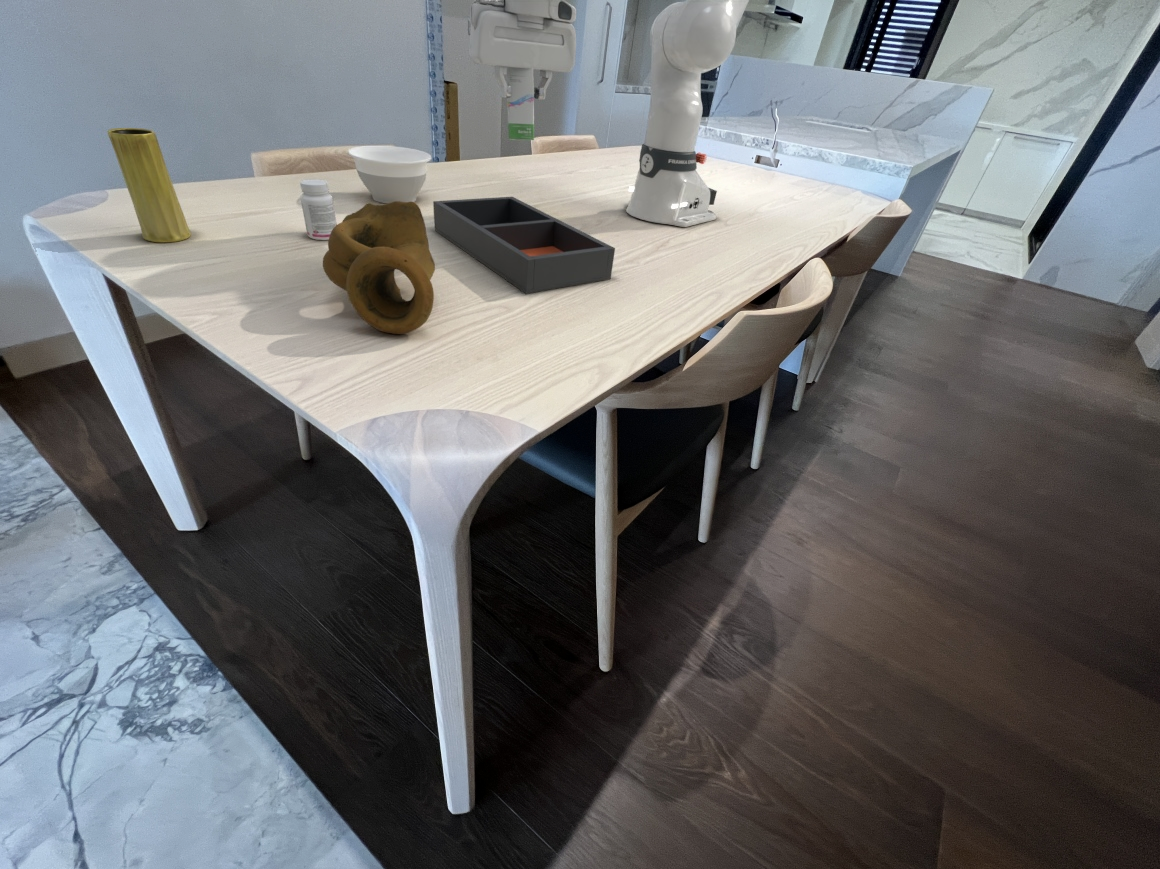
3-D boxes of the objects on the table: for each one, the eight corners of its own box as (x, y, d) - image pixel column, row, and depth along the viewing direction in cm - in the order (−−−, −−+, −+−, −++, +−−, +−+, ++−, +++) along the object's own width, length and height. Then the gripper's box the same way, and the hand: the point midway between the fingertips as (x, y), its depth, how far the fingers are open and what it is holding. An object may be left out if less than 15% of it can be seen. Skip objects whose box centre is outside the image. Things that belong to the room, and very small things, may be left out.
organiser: (511, 223, 106) (512, 196, 103) (610, 279, 87) (615, 248, 84) (434, 230, 98) (432, 201, 95) (526, 294, 79) (527, 259, 75)
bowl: (423, 212, 106) (420, 165, 101) (342, 203, 105) (334, 155, 100) (441, 194, 118) (439, 151, 113) (368, 185, 118) (363, 142, 112)
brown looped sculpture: (480, 225, 78) (449, 247, 59) (452, 306, 84) (416, 350, 64) (355, 168, 74) (278, 171, 55) (334, 256, 80) (258, 287, 60)
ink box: (509, 139, 107) (506, 68, 101) (535, 139, 108) (533, 69, 102) (508, 140, 100) (504, 63, 94) (535, 140, 100) (533, 64, 94)
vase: (197, 239, 82) (164, 134, 73) (150, 245, 78) (109, 135, 69) (183, 228, 85) (150, 126, 76) (137, 233, 81) (97, 127, 73)
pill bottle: (345, 236, 90) (336, 182, 85) (323, 242, 86) (313, 187, 81) (323, 229, 91) (314, 176, 86) (301, 236, 88) (290, 181, 83)
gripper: (479, -6, 83) (480, 98, 91) (584, 11, 93) (576, 103, 102) (461, -7, 86) (463, 93, 95) (563, 9, 97) (557, 98, 105)
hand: (522, 98), depth 98 cm, fingers closed on ink box, 6 cm apart
